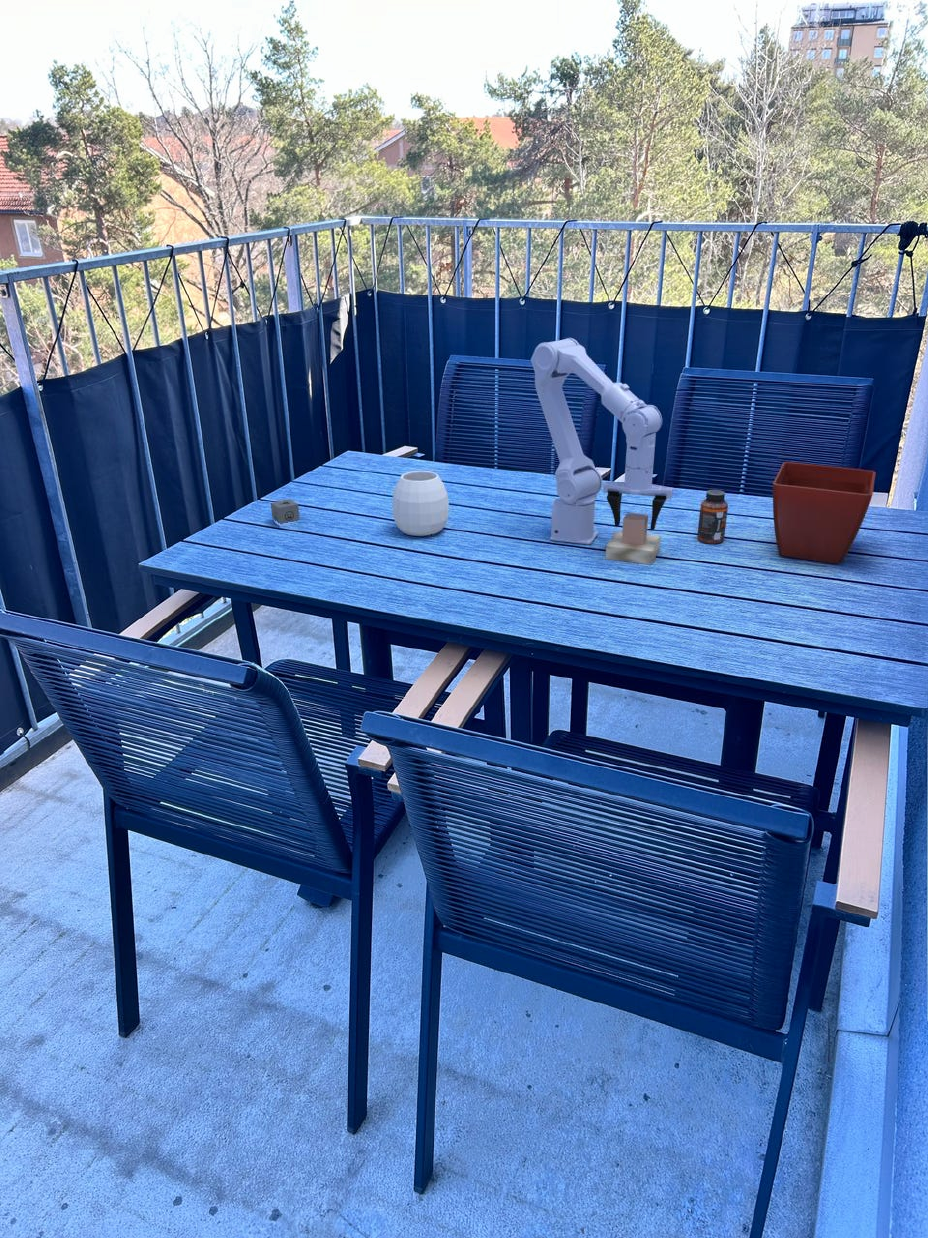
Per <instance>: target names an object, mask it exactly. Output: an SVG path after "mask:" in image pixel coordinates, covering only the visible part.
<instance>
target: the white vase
mask: <svg viewBox="0 0 928 1238" xmlns="http://www.w3.org/2000/svg"><path fill="white" fill-rule="evenodd" d="M393 490H394V491H393V494H392V503H391V504H392V505H391V506H392V517H393V519H394V523H395V524H396V527H397V528H398V529H399V530H400V531H401V532H402V533H405V534H406V535H410V536H416V537H417V536H418V537H424V536H426V537H427V536H430V535H431V534H432V535H436V534H437V533H439V532H440V531H442V530H443V529H444V527H445V526H446V524H447V522H448V519H449V516H450V513H449V512H450V503H449V496H448V495H449V494H448V491H447V489H446V487H445V485H444V483H443V480H442V479H441V478H440V475H438V473H435V472H434V471H430V470H413V471H408V472H405V473H403V474H402V475H400V477H399V478H398V481H397V483H396V485H395V488H394V489H393ZM432 535H431V536H432Z"/></svg>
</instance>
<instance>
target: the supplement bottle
mask: <svg viewBox="0 0 928 1238" xmlns="http://www.w3.org/2000/svg"><path fill="white" fill-rule="evenodd" d="M725 496H726V492H725V491H723V490H719V489H709V490H707V491H706V493H705V497H706V498H705V499H703V500H702V501H701V503H700V507H699V516H698V526H697V540H698V541H700V542H701V543H705V544H710V545H711V544H714V545H715V544H720V543H722V542H723V541H725V537H726V536H725V534H726V527H727V518H728V509H729V505H728V502H727V501H726V500H725V498H726V497H725Z"/></svg>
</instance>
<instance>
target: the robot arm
mask: <svg viewBox="0 0 928 1238" xmlns="http://www.w3.org/2000/svg"><path fill="white" fill-rule="evenodd" d="M530 361H531V364H532V368H533V371H534V385H535V386H534V388H535V390H536V393H537V396H538V400H539V403H540V405H541V409H542V412H543V415H544V418H545V421H546V423H547V424H546V425H547V427H548V430H549V434H550V436H551V439H552V442H553V446H554V448H555V453H556V454H557V458H558V460H559V464H558V467H557V468H556V471H555V472H554V476H555V479H556V492H557V495H558V497H559V498H555V499H554V501H553V504H552V508H551V522H550V523H551V525H550V527H551V528H550V538H549V539H550V540H551V541H556V542H565V543H573V544H582V545H584V544H585V545H592V543H593V541H594V540H595V538H597V536H598V534H599V532H598V531H596V530H594V529H595V528H594V526H595V507H596V499H597V494H598V493H599V492H600V491H601V490H602V493H604V494H606V500H607V502H608V505H609V507H610V509H611V512H612V516H613V522H614V527H619V526H620V524H621V508H622V507H621V505H622V499H623V498H622V496H623V494H625V495H635V496H646V497H654V498H653V499H652V502H651V504H652V505H651V506H652V507H651V508H652V509H651V511H652V512H651V521H650V529H649V530H650V531H654V530H655V528H656V524H657V521H658V518H659V515H660V513H661V511H662V508H663V507H664V505H665V502H666V501H667V499H668V500H671V499H672V498H673V494H674V488H673V487H669V486H664V485H658V484H653V475H654V474H653V472H654V461H655V459H654V458H655V451H656V450H655V447H656V437H657V432H658V431H659V430H660V429H661V427H662V425H663V417H662V414H661V412H660V410H659V409H658V407H657V406H655V405H653V404H646V403H645V402H644V400H642V399H640V398H638V397H637V396H636V395H635V394H634V393H633V392H632V391H631V390H630V386H629V385H628V384H627V383H622V382H613V381H612V380H611V379H610V377H608V376H607V375H606V374H605V372H604V371H602V370H601V368H600V367H599V365H597V364H596V363H595V361H593V360H592V358H591V357H589V355H588V354H587V351H586V348H585V347H584V346H583V345H581V344H580V343H579V342H578V341H577V339H574V338H572V337H566V338H564V339H561V340H555V341H549V342H547V341H546V342H541V343H539V344H538V345H537V346H536V347H535V349H534V352H533V354H532V356H531V358H530ZM570 374H575V375H576V376H577V377H579V378H580V379H581V380H582V381H583V382H584V383H585V384H587V385H588V386H589V387H591V388H592V389H593V390H594V391H595V392H596V393H598V394H599V395H600V396H601V404H602V405H603V406H604V407H605V408H606V409H607V410H608V411H609V412H610V413H611V414H612V415H613V416H614V417H615V418H616V419H618V421H620V422H621V423H622V424H621V425H622V430H623V432H624V434H625V436H626V438H625V442H626V452H625V453H626V454H625V455H626V456H625V469H624V481H604V482H603V477H602V475H601V473H600V472H599V471H598V469H597V468H596V467H595V464H594V461H593V460H592V459H591V458H589V457H588V456H586V455H585V454H584V451H583V449H582V444H581V443H580V439H579V437H578V436H579V435H578V433H577V431H576V430H577V429H576V428H575V424H574V422H573V418H572V415H571V411H570V409H569V405H568V403H567V399H566V396H565V394H564V389H563V385H564V382H565V381H566V379H567V377H568V376H569V375H570Z"/></svg>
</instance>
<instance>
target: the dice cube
mask: <svg viewBox="0 0 928 1238" xmlns="http://www.w3.org/2000/svg"><path fill="white" fill-rule="evenodd" d="M270 509H271V519H272V518H273V519H274V520H275V521H277V522H278V523H280V524H283V523H288V522H294V521H298V520H300V510H299V509H300V508H299V503H297V502H295V501H294V500H292V499H290V498H288V499H283V500H278V501H273V502H270ZM300 521H301V520H300Z"/></svg>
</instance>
